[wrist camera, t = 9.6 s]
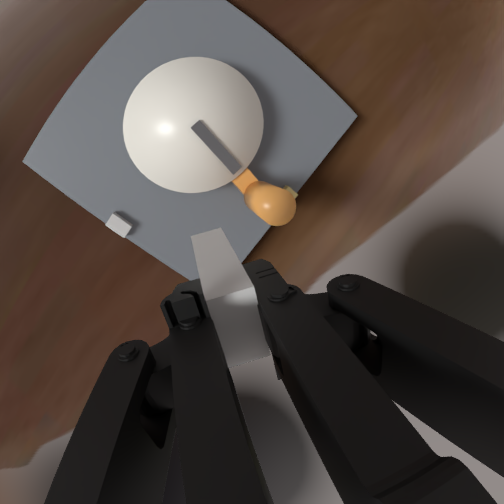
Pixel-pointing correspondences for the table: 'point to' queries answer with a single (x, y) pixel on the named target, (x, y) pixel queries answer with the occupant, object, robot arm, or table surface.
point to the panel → (129, 176)
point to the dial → (201, 133)
